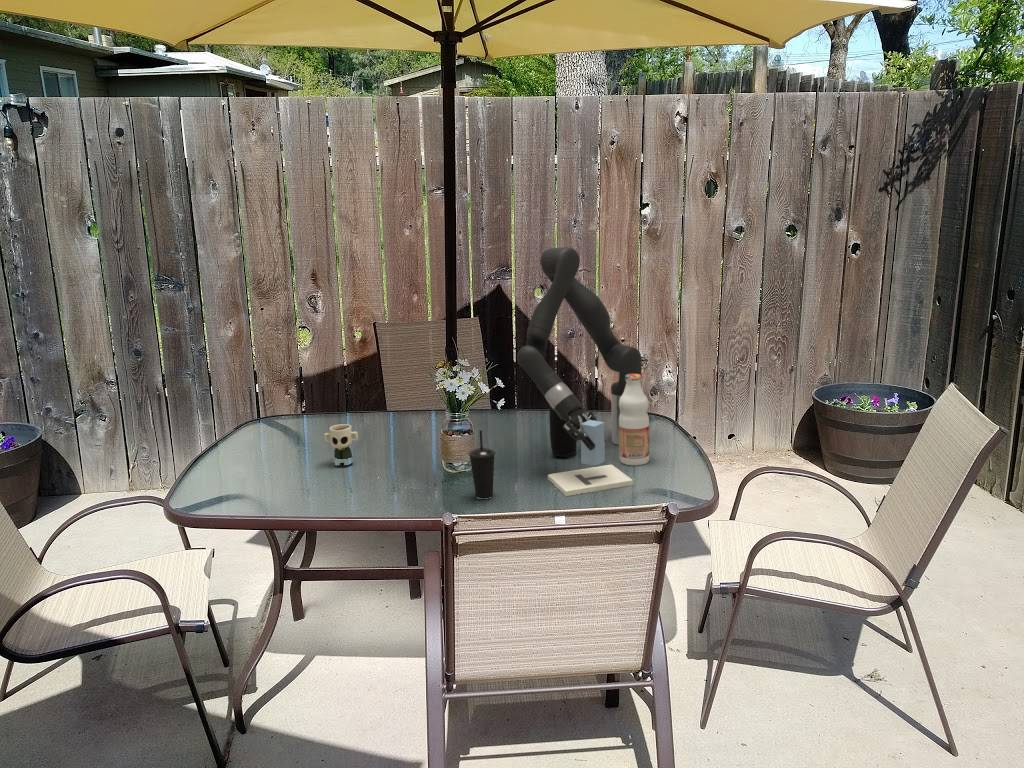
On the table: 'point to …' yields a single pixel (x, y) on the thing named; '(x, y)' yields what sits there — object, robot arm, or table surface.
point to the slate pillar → (597, 436)
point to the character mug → (341, 440)
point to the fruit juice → (633, 423)
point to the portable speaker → (560, 437)
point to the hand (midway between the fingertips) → (598, 445)
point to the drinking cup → (482, 469)
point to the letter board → (589, 480)
